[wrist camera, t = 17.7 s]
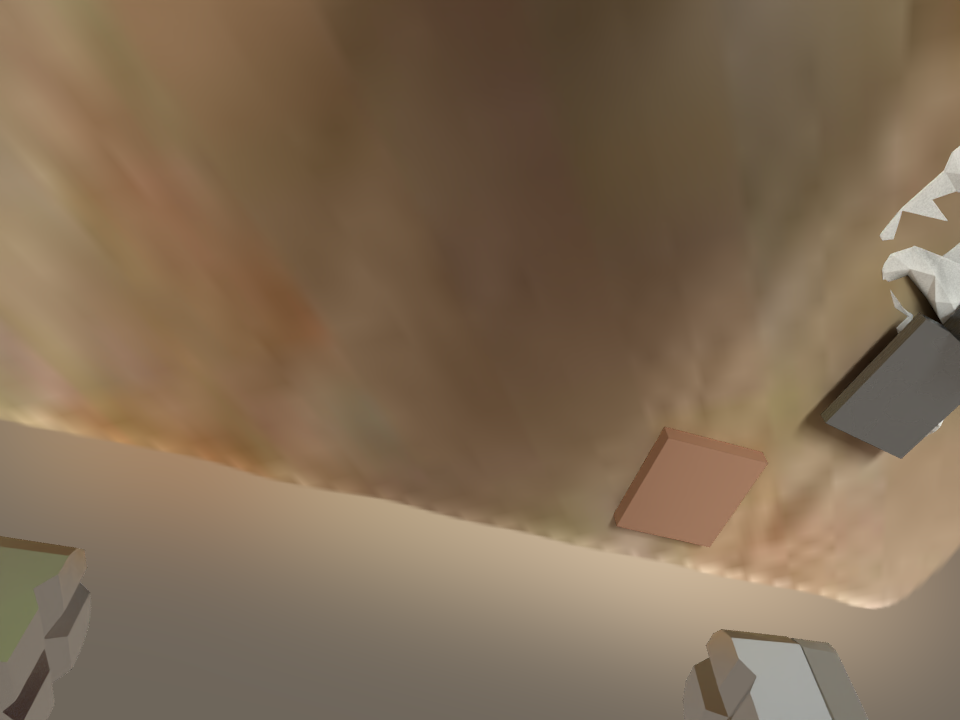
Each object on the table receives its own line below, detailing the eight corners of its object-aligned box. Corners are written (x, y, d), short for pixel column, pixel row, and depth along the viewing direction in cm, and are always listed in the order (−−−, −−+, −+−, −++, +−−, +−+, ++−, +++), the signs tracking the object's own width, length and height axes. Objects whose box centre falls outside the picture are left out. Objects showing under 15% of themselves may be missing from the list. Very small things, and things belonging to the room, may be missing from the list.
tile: (668, 438, 47) (616, 526, 51) (768, 463, 48) (709, 547, 53) (663, 422, 48) (612, 509, 53) (760, 447, 50) (703, 529, 54)
